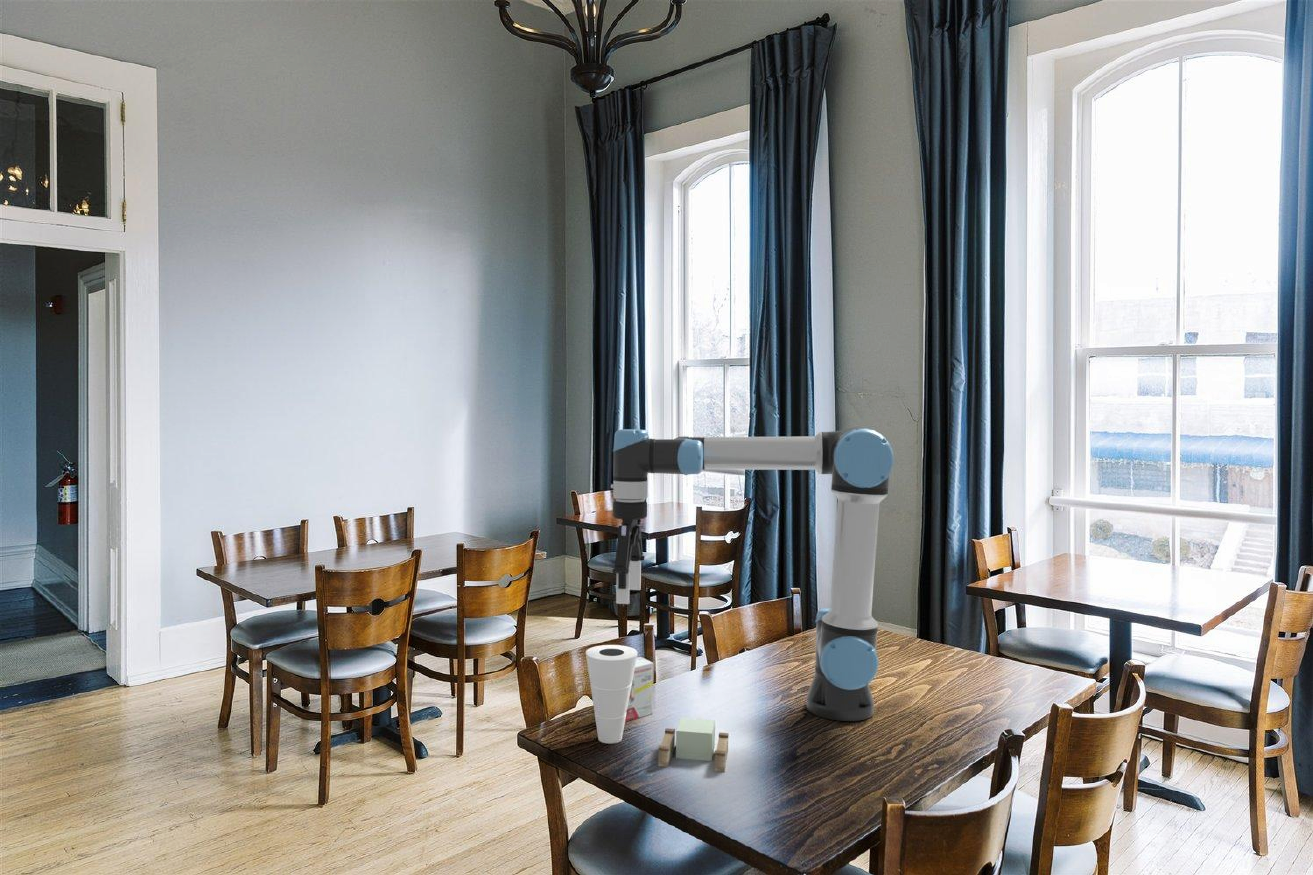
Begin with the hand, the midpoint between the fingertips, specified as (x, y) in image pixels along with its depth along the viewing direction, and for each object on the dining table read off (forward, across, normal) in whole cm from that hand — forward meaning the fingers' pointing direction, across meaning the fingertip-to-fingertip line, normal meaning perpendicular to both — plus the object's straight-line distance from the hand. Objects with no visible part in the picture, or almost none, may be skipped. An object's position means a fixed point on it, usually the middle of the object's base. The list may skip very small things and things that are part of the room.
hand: (628, 596), depth 185 cm
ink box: (+27, -1, +1) cm, 27 cm away
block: (+27, +16, +17) cm, 36 cm away
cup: (+27, +13, -1) cm, 30 cm away
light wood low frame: (+27, +19, +17) cm, 37 cm away
